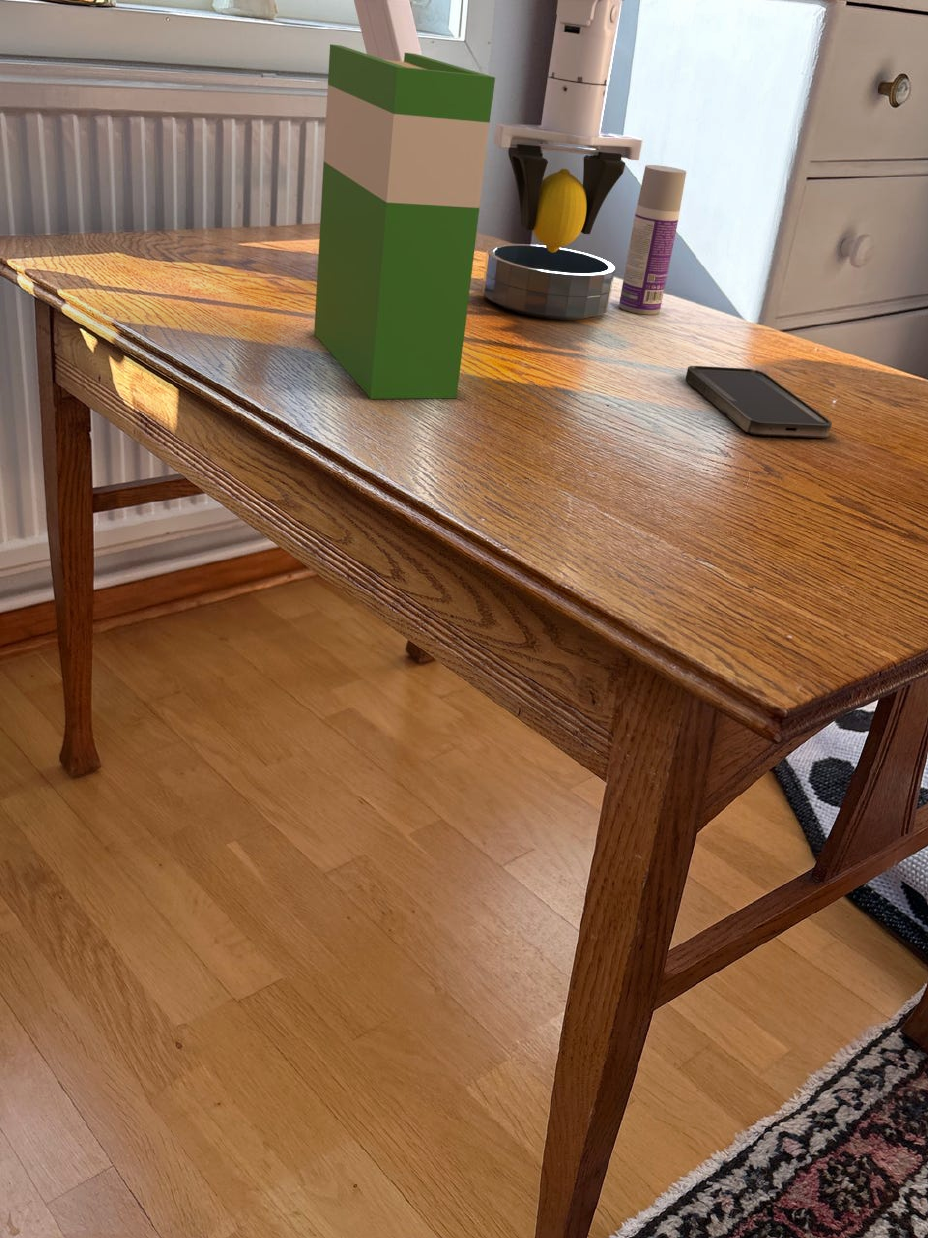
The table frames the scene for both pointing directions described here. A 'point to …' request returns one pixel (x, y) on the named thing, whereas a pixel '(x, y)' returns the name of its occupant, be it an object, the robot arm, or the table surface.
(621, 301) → the container
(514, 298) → the bowl
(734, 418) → the phone
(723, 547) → the table surface
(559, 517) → the table surface
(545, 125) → the robot arm
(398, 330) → the green cereal box
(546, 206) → the lemon
